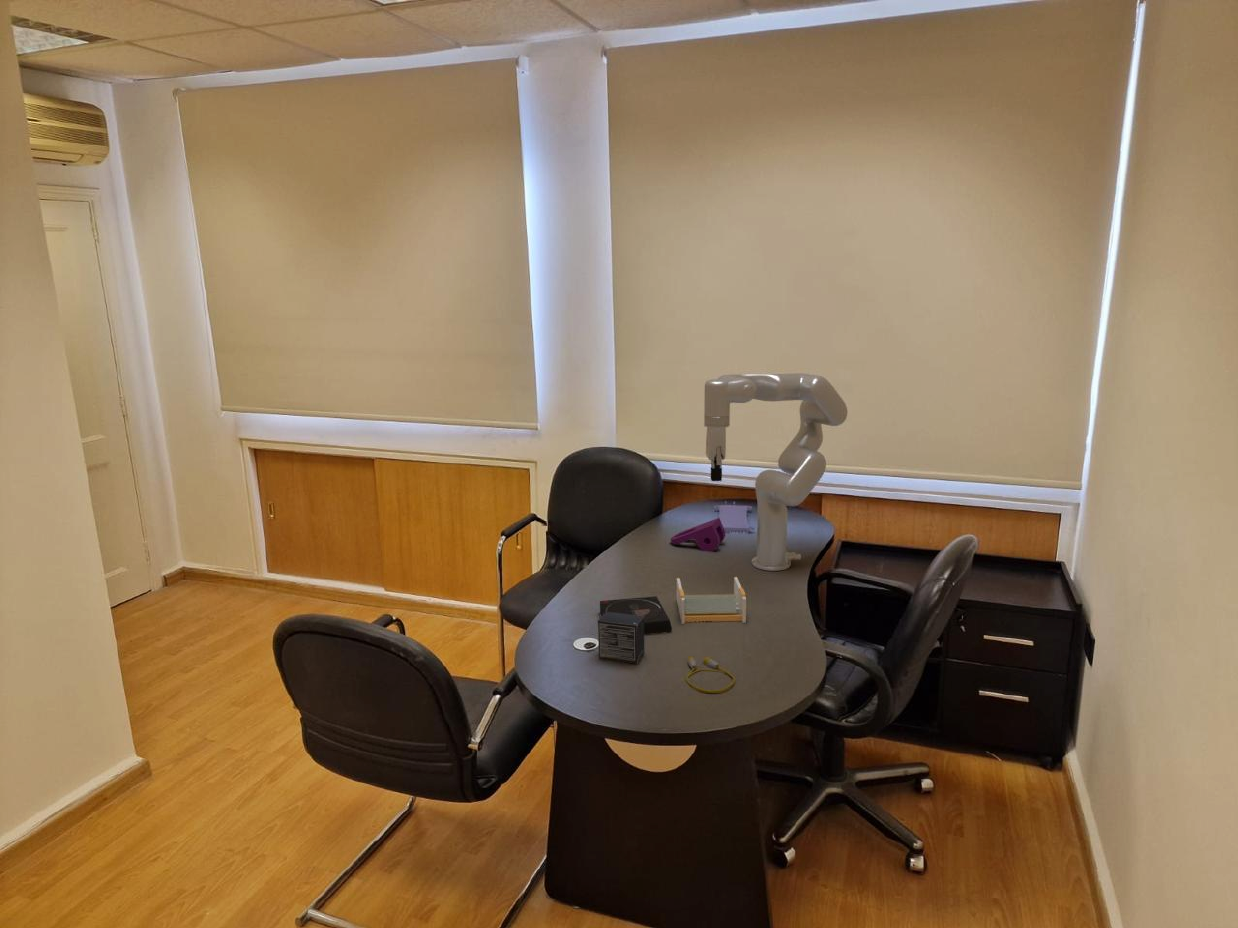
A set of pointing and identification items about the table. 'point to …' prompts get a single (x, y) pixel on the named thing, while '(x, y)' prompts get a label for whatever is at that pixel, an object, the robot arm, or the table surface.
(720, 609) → the panel
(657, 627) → the portable cd player
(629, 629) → the small box
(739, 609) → the rack
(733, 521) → the computer part
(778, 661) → the table surface
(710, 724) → the table surface
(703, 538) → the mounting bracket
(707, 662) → the extension cord
